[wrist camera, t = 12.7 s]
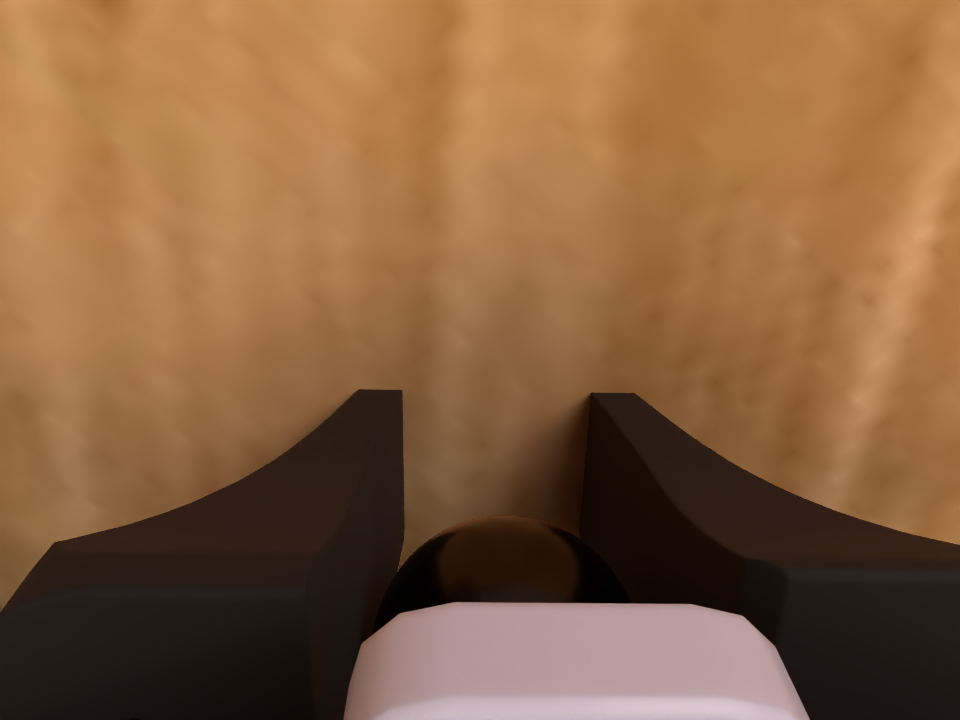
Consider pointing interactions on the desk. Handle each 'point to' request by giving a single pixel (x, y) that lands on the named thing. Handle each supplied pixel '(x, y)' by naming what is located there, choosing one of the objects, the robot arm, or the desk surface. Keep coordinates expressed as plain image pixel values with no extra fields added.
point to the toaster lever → (500, 568)
